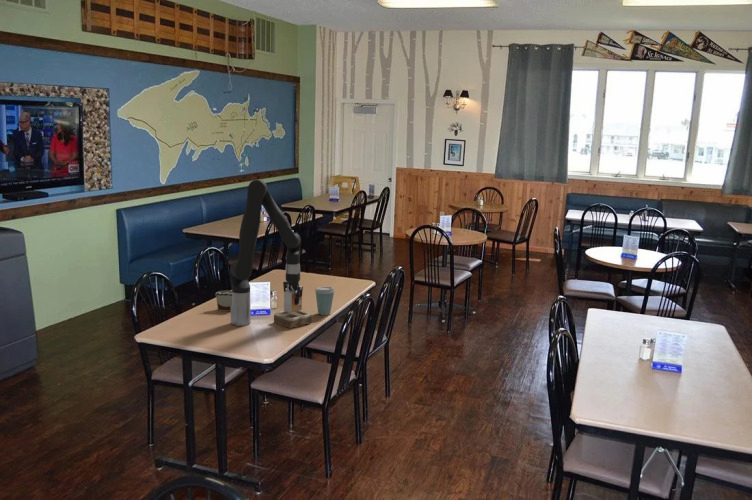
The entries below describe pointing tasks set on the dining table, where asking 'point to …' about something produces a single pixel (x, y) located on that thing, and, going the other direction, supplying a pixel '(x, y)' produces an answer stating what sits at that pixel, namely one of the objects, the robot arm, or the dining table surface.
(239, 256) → the robot arm
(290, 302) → the small box
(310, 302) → the dining table surface
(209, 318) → the dining table surface
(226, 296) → the food container
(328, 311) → the disposable coffee cup
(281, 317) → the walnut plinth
